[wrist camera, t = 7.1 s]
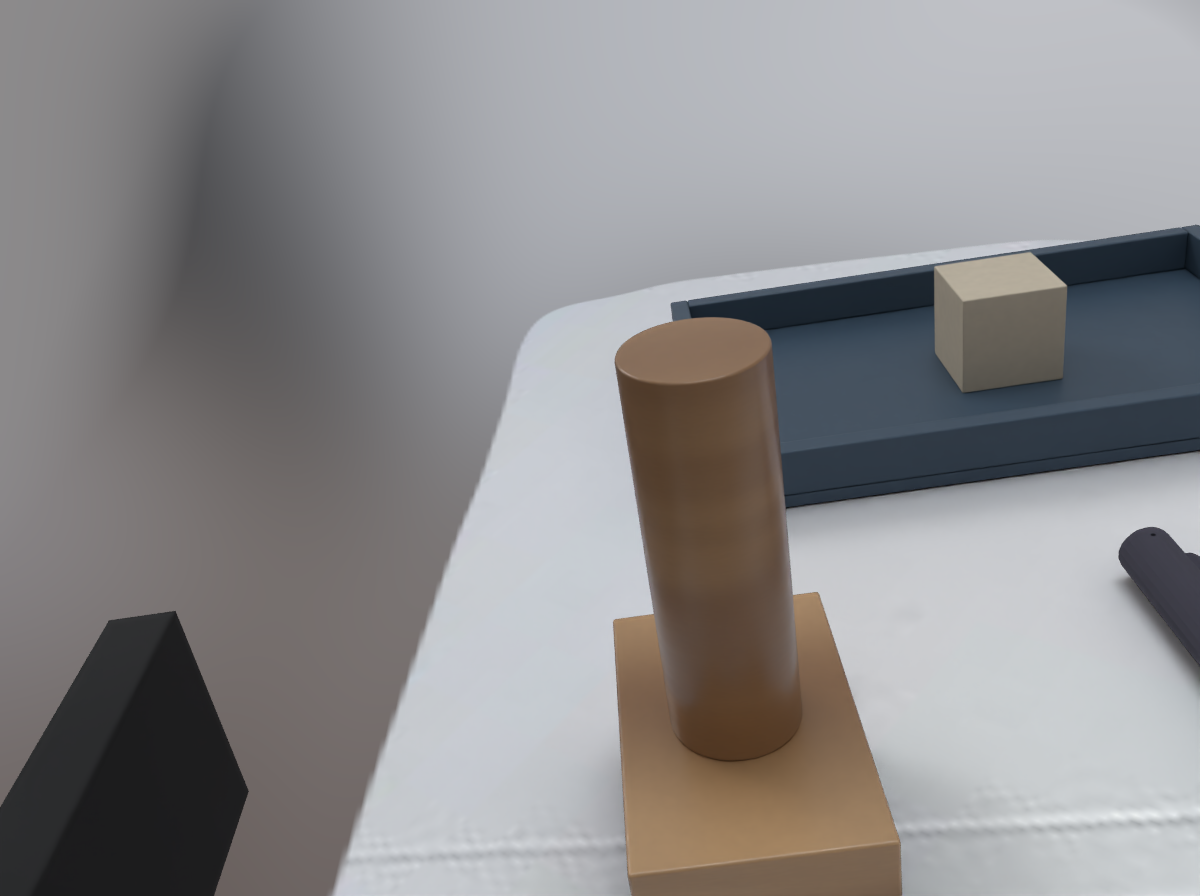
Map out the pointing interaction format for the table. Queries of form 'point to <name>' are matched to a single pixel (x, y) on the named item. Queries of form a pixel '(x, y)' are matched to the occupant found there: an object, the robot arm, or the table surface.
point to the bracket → (1166, 581)
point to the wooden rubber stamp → (732, 648)
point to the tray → (988, 417)
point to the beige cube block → (999, 322)
